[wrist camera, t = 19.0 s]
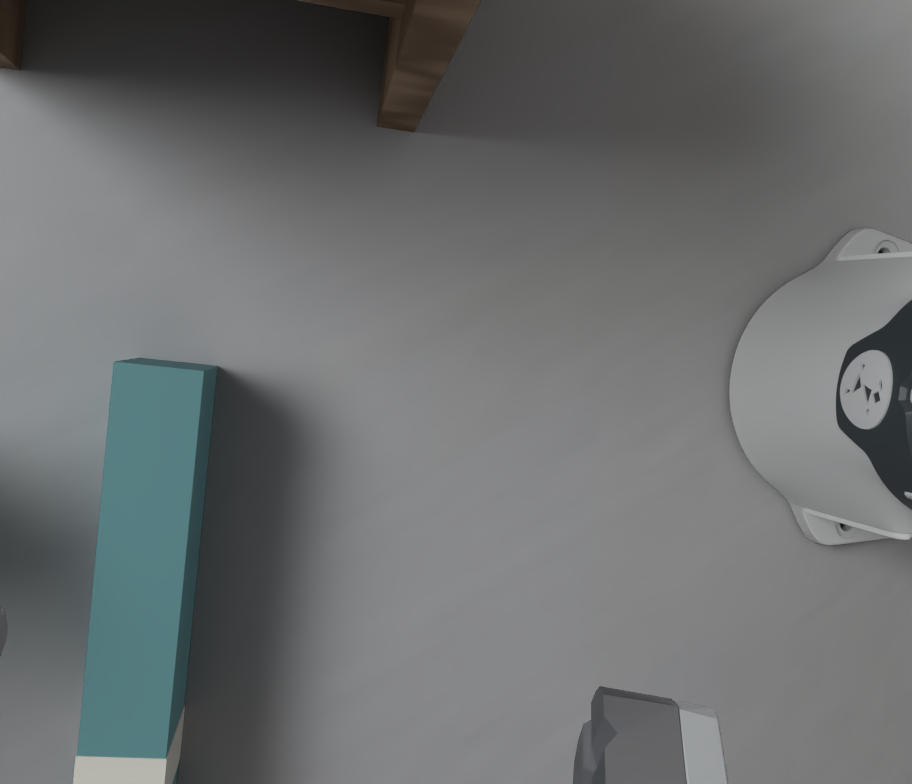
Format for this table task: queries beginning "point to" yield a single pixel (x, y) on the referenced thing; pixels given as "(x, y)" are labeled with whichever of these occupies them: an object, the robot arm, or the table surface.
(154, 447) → the teal rectangular bar
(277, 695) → the table surface
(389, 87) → the brown wooden box
